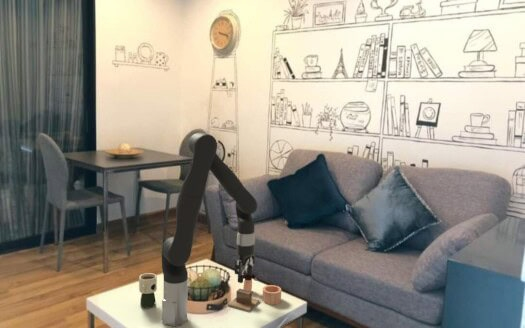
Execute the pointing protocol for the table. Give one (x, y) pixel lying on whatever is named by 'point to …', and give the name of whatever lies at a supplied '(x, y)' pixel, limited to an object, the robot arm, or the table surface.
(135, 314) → the table surface
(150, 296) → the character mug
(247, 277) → the grandmother figurine
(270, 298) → the bowl
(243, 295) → the lid
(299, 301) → the table surface
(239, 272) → the robot arm
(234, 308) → the mat
